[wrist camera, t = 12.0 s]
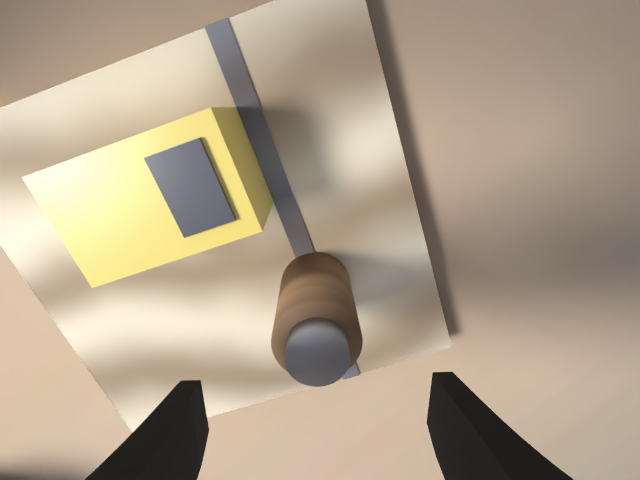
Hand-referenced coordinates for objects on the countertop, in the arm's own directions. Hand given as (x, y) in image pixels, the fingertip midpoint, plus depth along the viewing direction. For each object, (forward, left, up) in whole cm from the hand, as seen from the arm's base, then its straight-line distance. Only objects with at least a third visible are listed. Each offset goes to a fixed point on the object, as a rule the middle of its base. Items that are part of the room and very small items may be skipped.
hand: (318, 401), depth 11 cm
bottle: (0, 0, -8) cm, 8 cm away
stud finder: (-7, -4, -8) cm, 11 cm away
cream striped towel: (-3, -4, -9) cm, 11 cm away
